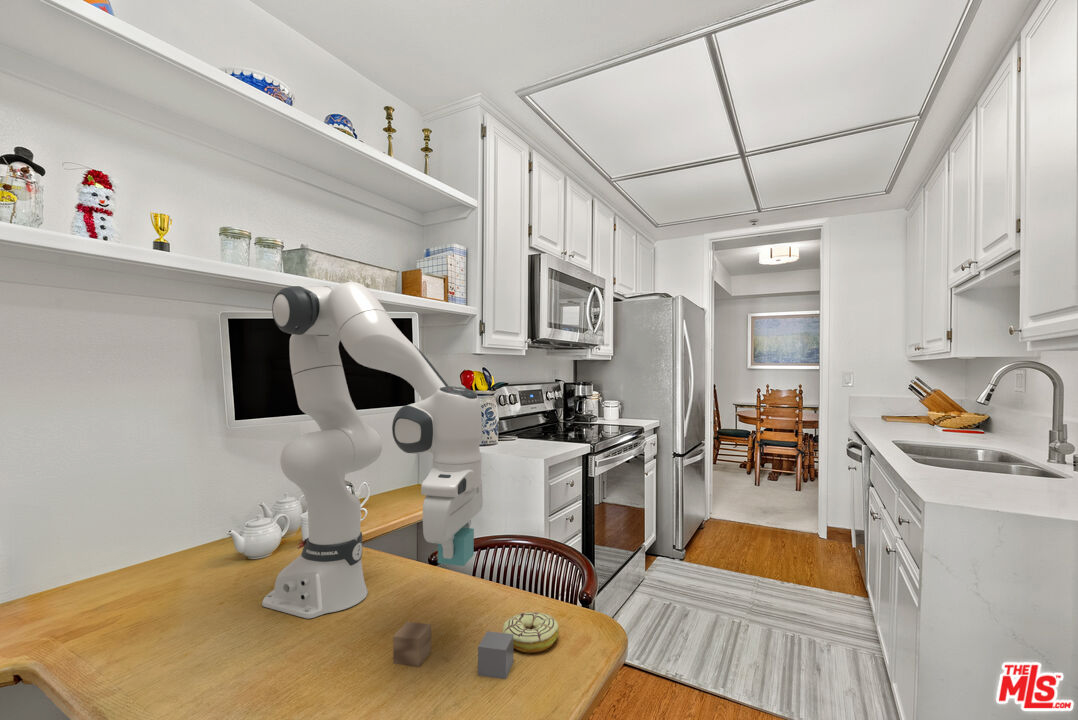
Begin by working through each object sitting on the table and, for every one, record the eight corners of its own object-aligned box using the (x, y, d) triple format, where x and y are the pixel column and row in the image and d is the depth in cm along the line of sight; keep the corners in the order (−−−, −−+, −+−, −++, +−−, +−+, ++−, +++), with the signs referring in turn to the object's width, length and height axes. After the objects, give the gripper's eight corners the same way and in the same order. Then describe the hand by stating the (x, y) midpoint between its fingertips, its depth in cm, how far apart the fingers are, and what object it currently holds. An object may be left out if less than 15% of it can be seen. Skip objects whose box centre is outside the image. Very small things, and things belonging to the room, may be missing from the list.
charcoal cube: (478, 675, 83) (478, 646, 83) (486, 658, 88) (487, 631, 88) (506, 679, 82) (506, 650, 82) (513, 662, 87) (513, 634, 87)
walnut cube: (393, 664, 87) (393, 636, 87) (406, 648, 92) (406, 621, 92) (419, 667, 86) (419, 639, 86) (431, 651, 90) (431, 624, 91)
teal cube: (437, 563, 87) (438, 535, 87) (448, 552, 92) (449, 526, 92) (463, 566, 86) (464, 538, 86) (473, 555, 91) (473, 528, 91)
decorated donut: (519, 621, 101) (518, 603, 101) (566, 633, 97) (566, 614, 97) (493, 647, 92) (493, 627, 92) (544, 662, 87) (544, 641, 87)
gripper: (461, 462, 100) (460, 529, 100) (416, 487, 80) (414, 571, 80) (490, 464, 98) (489, 532, 98) (452, 490, 78) (450, 575, 78)
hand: (455, 550), depth 89 cm, fingers closed on teal cube, 5 cm apart
